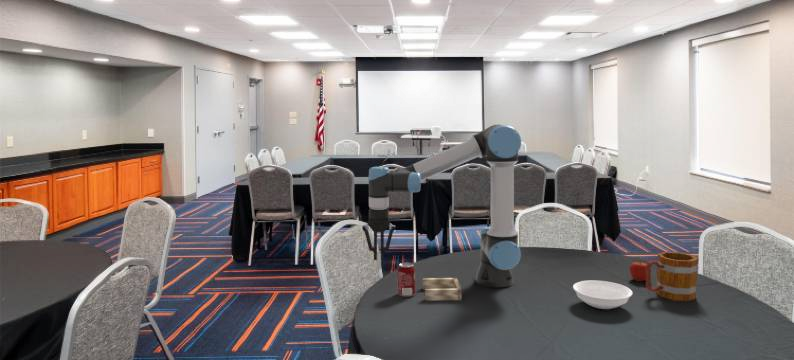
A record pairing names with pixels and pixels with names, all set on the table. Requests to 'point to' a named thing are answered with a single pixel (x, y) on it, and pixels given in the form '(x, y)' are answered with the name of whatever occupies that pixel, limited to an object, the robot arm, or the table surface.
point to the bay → (442, 289)
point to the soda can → (406, 279)
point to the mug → (674, 276)
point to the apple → (638, 271)
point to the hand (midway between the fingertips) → (378, 268)
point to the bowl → (602, 293)
